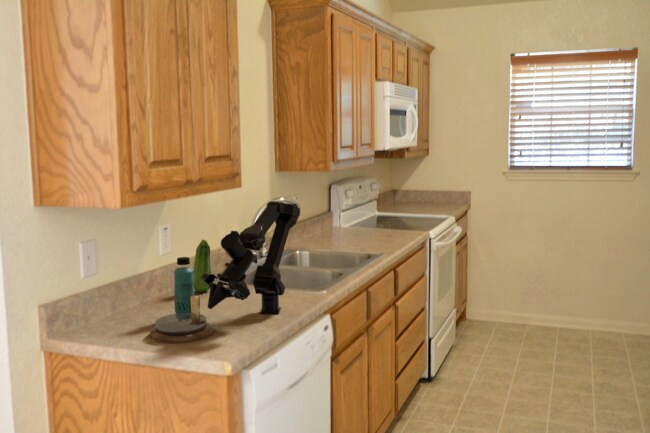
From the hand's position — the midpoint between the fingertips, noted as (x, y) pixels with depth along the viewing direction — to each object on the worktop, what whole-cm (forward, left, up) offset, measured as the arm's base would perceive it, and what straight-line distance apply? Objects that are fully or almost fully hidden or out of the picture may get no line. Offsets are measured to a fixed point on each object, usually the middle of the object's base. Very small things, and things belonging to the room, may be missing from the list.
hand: (209, 308), depth 202 cm
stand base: (0, -8, -8) cm, 11 cm away
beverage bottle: (-17, -11, -8) cm, 22 cm away
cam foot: (0, -9, -6) cm, 10 cm away
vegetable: (-52, -13, -8) cm, 54 cm away
